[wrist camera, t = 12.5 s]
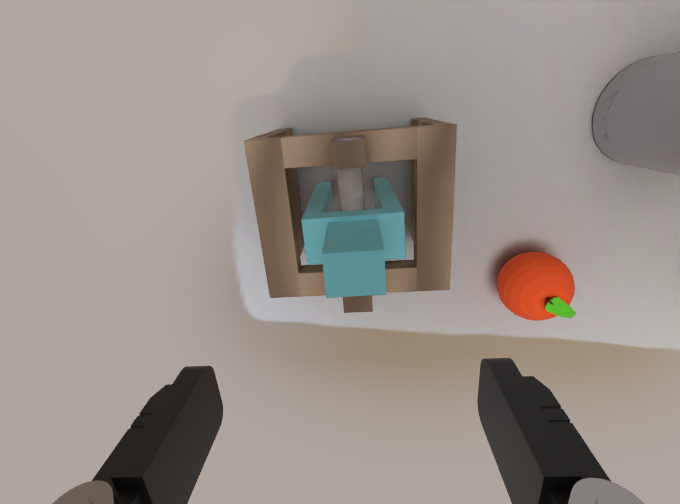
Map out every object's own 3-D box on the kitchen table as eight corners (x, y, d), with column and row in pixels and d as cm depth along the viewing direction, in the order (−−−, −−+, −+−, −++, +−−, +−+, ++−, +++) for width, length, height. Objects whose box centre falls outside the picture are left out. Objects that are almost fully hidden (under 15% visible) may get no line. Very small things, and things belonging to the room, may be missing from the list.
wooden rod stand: (424, 117, 34) (470, 127, 21) (423, 236, 39) (459, 310, 25) (279, 129, 35) (229, 145, 22) (294, 243, 40) (260, 318, 26)
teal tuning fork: (387, 177, 32) (418, 241, 17) (388, 209, 33) (418, 297, 18) (317, 182, 32) (287, 250, 17) (321, 214, 34) (295, 304, 18)
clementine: (573, 266, 40) (617, 298, 33) (530, 312, 42) (562, 351, 35) (516, 230, 38) (549, 256, 32) (474, 280, 41) (497, 314, 34)
